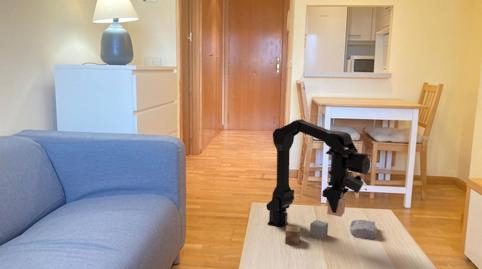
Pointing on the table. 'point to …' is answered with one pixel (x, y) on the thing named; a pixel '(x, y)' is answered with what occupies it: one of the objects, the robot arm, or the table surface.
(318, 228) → the slate grey cube
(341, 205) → the terracotta cube
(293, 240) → the walnut cube
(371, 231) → the stone block
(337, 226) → the table surface
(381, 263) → the table surface
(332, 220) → the table surface
